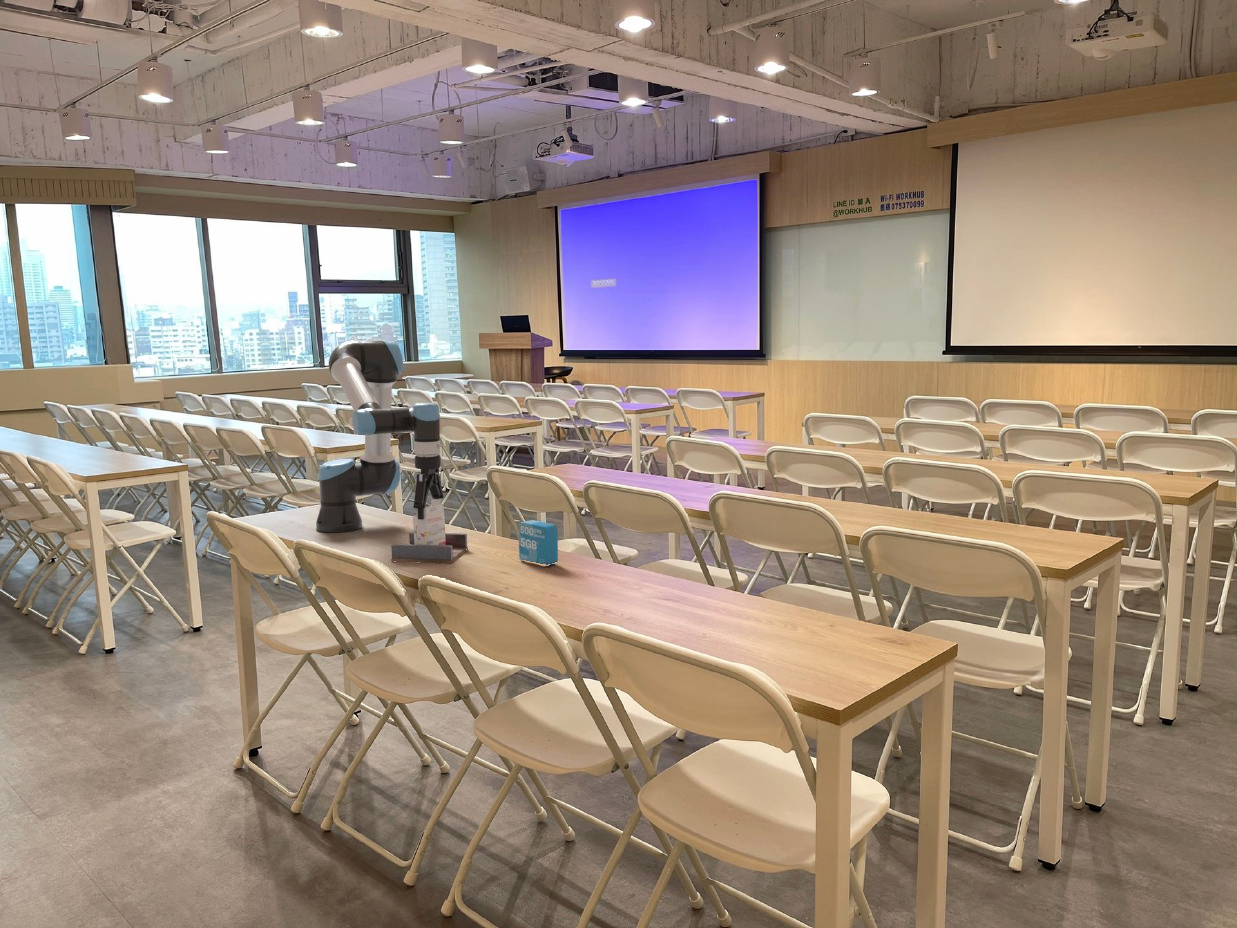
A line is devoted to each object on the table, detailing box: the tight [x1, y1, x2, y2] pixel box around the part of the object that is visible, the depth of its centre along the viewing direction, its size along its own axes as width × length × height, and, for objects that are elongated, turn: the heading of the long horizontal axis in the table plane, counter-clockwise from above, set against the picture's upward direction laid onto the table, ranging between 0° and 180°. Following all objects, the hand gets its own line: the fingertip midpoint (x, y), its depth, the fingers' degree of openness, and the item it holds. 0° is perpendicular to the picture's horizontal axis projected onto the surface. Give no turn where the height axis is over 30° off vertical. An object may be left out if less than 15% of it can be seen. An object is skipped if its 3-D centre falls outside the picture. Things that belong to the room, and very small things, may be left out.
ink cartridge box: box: [412, 503, 446, 545], centre depth 269 cm, size 9×5×15 cm, turn 144°
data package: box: [518, 519, 559, 565], centre depth 261 cm, size 12×4×12 cm, turn 49°
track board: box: [390, 531, 469, 565], centre depth 270 cm, size 18×18×5 cm
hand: (429, 524), depth 269 cm, fingers open, 13 cm apart
